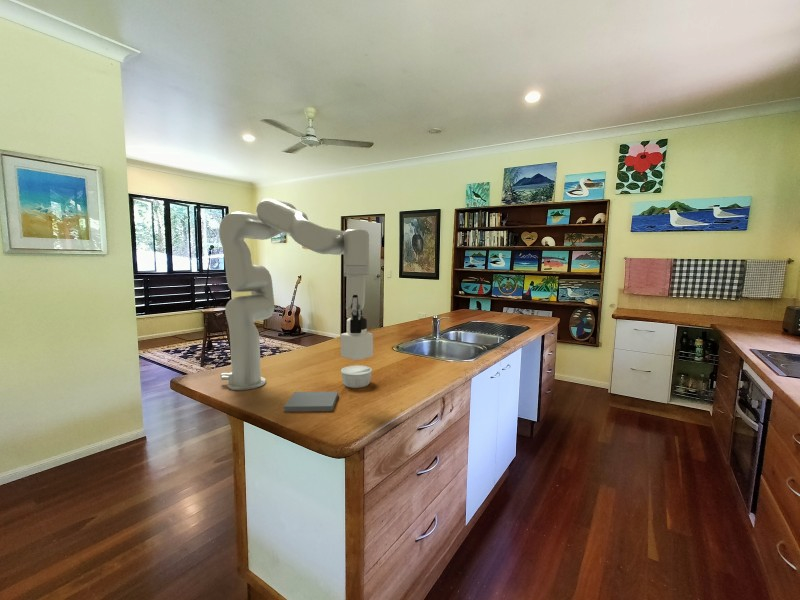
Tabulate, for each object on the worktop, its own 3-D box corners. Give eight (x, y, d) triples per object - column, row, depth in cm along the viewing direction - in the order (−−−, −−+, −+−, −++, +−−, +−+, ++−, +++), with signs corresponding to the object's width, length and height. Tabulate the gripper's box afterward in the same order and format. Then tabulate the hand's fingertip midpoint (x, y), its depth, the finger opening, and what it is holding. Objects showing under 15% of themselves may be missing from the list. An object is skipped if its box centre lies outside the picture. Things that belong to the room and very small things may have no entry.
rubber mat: (284, 411, 104) (283, 406, 104) (294, 396, 116) (294, 391, 116) (332, 410, 104) (332, 406, 104) (338, 395, 116) (338, 391, 116)
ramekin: (367, 390, 122) (366, 375, 121) (336, 388, 124) (335, 373, 124) (375, 380, 133) (375, 366, 132) (347, 378, 135) (347, 364, 134)
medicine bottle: (357, 352, 114) (357, 315, 113) (373, 356, 110) (373, 317, 108) (340, 356, 109) (339, 317, 107) (356, 360, 104) (356, 320, 103)
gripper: (347, 270, 115) (347, 325, 117) (340, 272, 98) (340, 336, 100) (370, 271, 115) (370, 325, 117) (367, 272, 98) (367, 336, 100)
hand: (356, 330), depth 108 cm, fingers closed on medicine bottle, 6 cm apart
